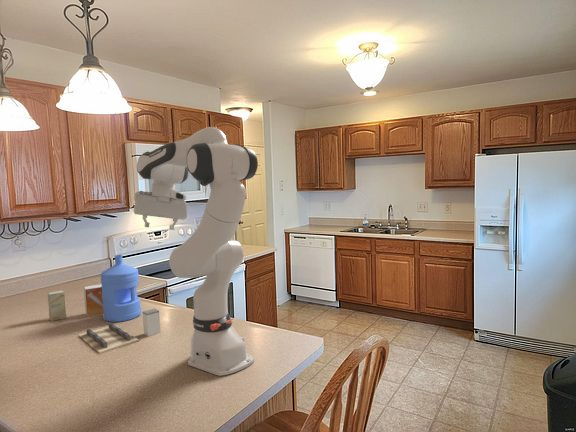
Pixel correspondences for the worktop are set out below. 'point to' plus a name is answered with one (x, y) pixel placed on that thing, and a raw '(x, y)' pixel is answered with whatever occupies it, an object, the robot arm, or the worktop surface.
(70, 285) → the worktop surface
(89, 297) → the small box
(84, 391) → the worktop surface
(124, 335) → the rail board
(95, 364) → the worktop surface
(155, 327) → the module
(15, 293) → the worktop surface
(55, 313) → the skincare box
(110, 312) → the water jug
